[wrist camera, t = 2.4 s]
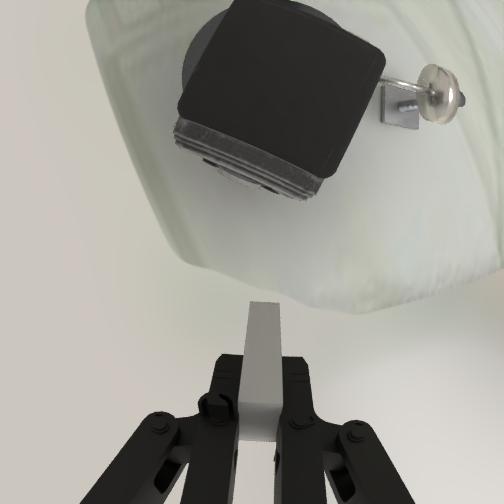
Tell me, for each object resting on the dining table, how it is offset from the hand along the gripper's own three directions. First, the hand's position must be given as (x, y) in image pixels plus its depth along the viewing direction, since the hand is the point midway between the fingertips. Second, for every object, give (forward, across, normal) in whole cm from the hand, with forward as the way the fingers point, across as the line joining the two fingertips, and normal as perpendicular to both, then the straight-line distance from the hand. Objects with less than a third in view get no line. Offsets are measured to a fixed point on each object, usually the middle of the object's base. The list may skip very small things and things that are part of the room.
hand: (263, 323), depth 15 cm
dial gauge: (+16, +11, +15) cm, 24 cm away
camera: (+16, 0, +12) cm, 19 cm away
